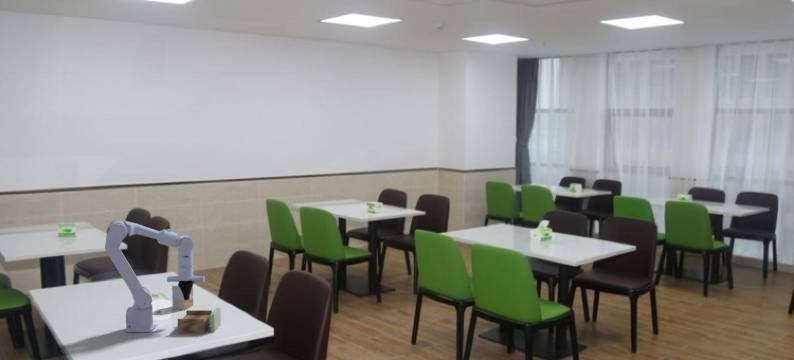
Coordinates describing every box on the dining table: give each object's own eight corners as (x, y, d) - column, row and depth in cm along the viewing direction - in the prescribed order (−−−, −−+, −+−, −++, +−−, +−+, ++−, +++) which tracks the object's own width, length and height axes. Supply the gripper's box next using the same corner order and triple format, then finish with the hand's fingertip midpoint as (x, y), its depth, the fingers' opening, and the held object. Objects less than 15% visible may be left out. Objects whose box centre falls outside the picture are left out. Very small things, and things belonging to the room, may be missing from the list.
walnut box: (177, 333, 253) (177, 319, 253) (187, 323, 265) (187, 310, 265) (204, 333, 253) (203, 319, 253) (212, 323, 265) (212, 310, 265)
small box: (184, 310, 283) (183, 286, 282) (172, 309, 285) (171, 285, 284) (193, 305, 291) (192, 281, 290) (182, 304, 292) (181, 281, 291)
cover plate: (210, 314, 254) (214, 314, 254) (216, 307, 263) (220, 307, 263) (210, 332, 255) (214, 332, 255) (216, 324, 264) (220, 324, 264)
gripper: (206, 263, 267) (207, 296, 268) (170, 263, 267) (171, 296, 268) (201, 267, 260) (202, 301, 261) (164, 267, 260) (165, 301, 261)
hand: (186, 299), depth 264 cm, fingers closed
